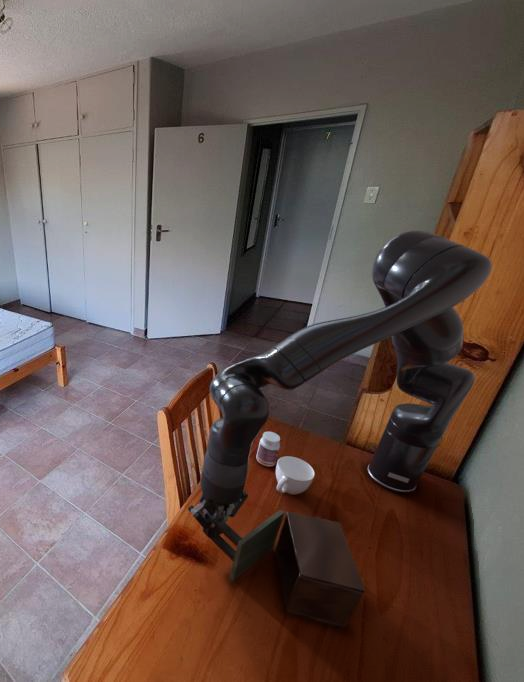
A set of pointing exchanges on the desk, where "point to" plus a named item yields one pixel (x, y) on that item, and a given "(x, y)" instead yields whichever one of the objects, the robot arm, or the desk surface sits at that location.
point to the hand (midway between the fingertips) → (212, 532)
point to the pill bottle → (268, 449)
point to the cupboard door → (248, 543)
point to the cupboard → (317, 570)
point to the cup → (293, 475)
